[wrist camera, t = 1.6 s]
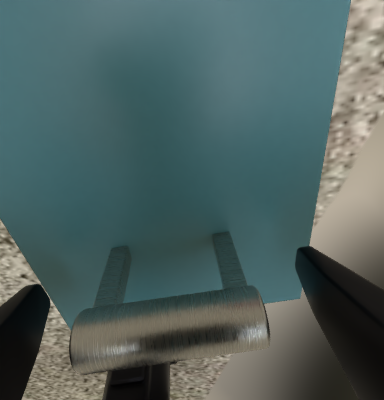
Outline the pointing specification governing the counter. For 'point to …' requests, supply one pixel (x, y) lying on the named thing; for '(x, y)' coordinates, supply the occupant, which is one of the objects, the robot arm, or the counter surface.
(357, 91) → the counter surface
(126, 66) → the freezer lid
